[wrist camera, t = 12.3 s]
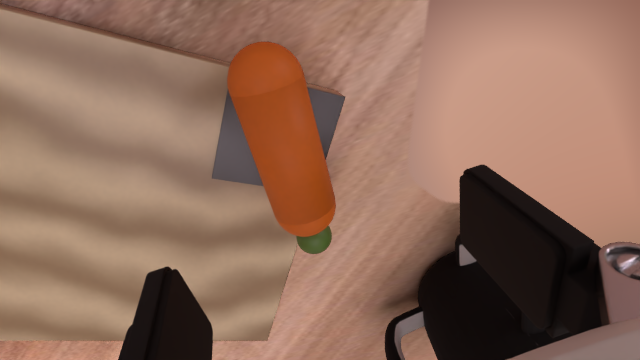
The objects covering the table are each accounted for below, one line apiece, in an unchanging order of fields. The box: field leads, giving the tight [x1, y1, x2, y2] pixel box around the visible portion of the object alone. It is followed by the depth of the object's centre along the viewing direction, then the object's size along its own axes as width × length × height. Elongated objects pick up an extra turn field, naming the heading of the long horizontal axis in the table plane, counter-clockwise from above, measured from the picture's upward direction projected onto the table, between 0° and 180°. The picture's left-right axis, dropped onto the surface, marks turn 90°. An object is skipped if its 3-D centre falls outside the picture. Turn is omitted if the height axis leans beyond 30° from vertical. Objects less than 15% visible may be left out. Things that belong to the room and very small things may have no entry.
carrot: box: [227, 42, 336, 254], centre depth 20 cm, size 14×4×4 cm, turn 13°
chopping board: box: [0, 4, 345, 341], centre depth 23 cm, size 22×20×2 cm
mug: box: [385, 234, 573, 360], centre depth 29 cm, size 16×16×12 cm
